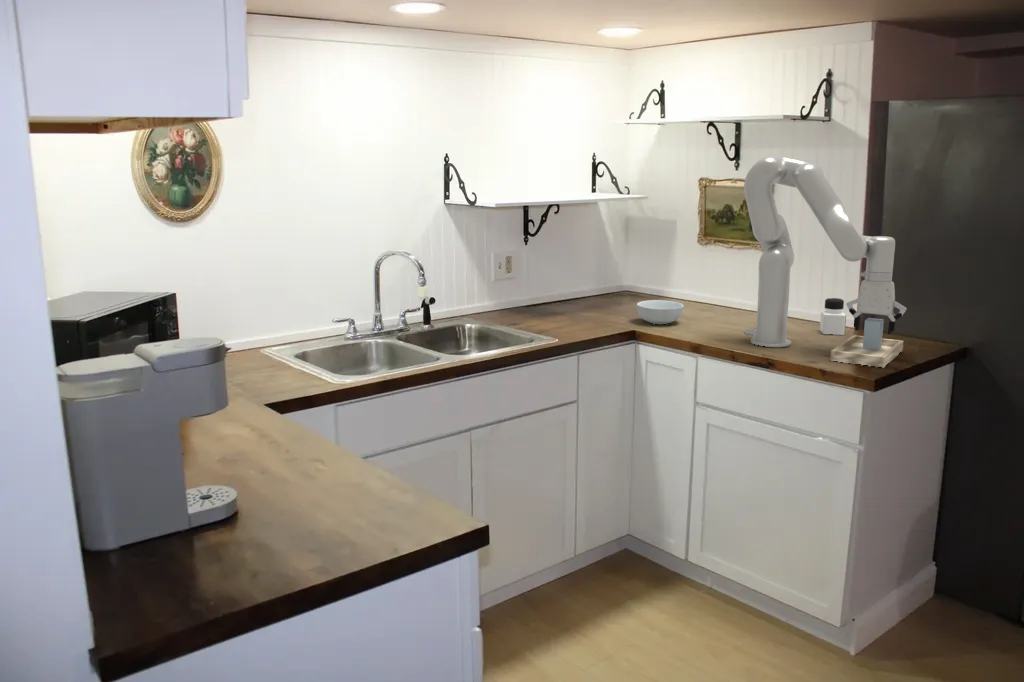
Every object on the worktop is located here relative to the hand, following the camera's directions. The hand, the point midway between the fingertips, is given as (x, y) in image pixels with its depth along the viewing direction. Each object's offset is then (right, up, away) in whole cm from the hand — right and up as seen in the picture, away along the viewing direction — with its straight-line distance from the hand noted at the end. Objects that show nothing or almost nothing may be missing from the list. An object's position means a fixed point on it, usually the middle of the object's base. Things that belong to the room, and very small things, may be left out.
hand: (873, 331), depth 260 cm
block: (0, -5, +1) cm, 5 cm away
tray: (-3, -7, -3) cm, 9 cm away
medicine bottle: (-2, 0, +29) cm, 29 cm away
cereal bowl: (-58, +4, +48) cm, 75 cm away
